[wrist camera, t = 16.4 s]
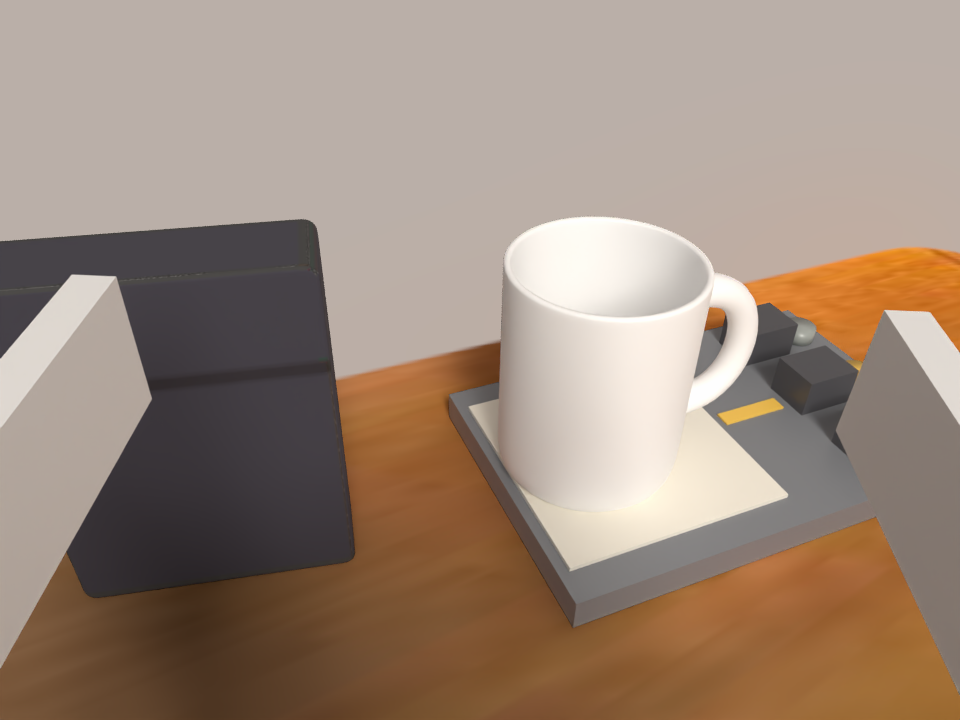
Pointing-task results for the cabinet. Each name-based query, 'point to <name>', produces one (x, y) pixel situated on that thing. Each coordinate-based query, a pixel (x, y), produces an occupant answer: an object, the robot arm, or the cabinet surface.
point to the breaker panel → (699, 478)
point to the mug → (608, 356)
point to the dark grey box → (208, 403)
